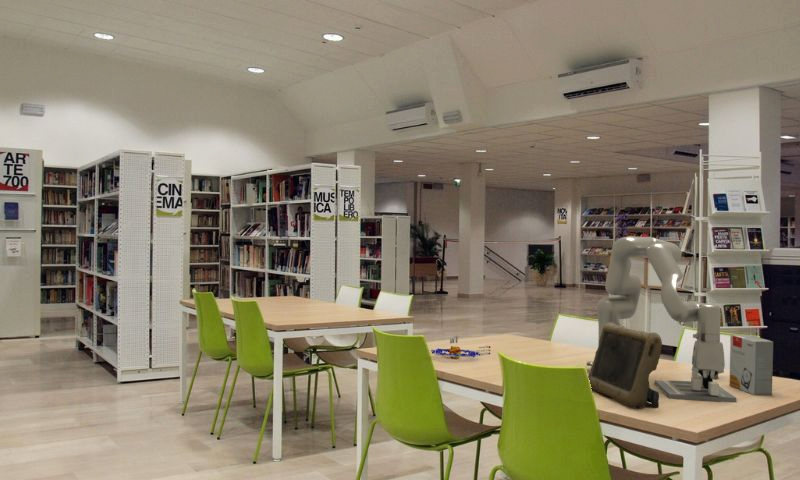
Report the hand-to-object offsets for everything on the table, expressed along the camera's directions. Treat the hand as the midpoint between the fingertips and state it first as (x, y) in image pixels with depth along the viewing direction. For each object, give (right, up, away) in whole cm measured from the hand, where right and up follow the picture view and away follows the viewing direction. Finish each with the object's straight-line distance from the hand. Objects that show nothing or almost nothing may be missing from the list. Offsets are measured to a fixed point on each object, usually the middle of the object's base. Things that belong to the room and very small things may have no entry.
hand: (707, 388), depth 236 cm
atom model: (-82, -1, +68) cm, 106 cm away
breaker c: (+1, -1, +7) cm, 7 cm away
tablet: (-33, -2, -6) cm, 34 cm away
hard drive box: (+21, -3, +10) cm, 24 cm away
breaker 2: (-1, -1, -7) cm, 7 cm away
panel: (-3, -2, +4) cm, 6 cm away
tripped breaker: (-4, 0, +1) cm, 4 cm away
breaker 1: (+2, -1, +14) cm, 14 cm away
